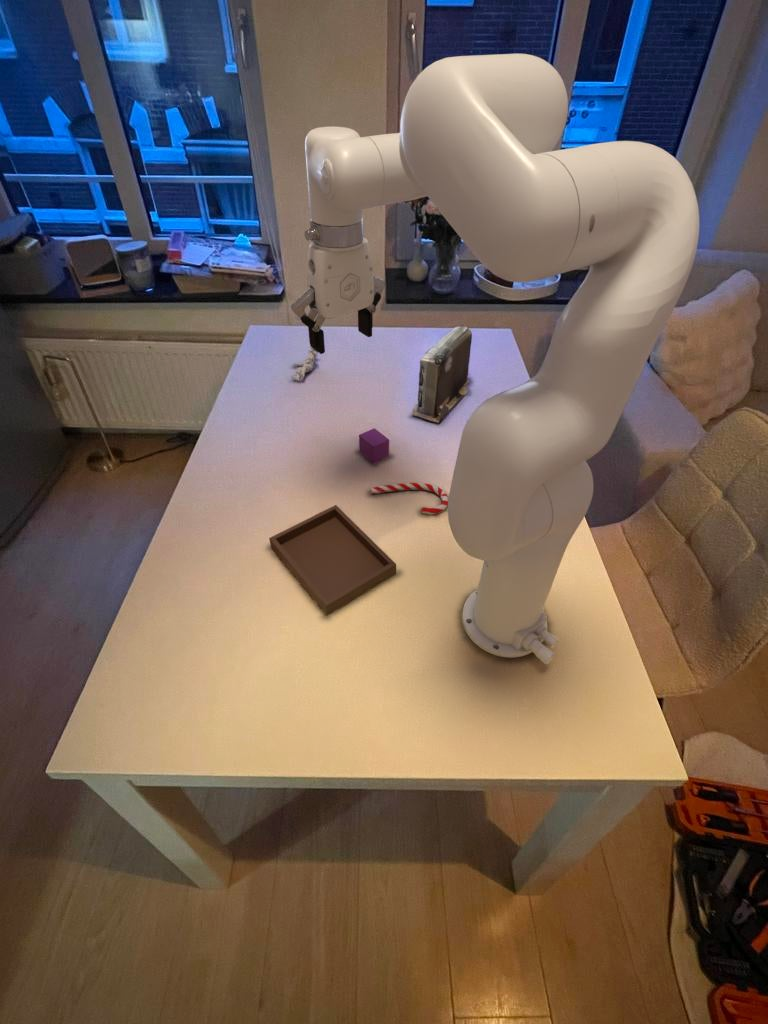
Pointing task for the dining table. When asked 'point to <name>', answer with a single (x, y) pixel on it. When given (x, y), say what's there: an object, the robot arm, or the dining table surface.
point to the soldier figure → (306, 364)
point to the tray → (332, 558)
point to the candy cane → (420, 487)
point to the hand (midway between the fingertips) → (342, 342)
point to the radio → (444, 375)
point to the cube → (374, 445)
